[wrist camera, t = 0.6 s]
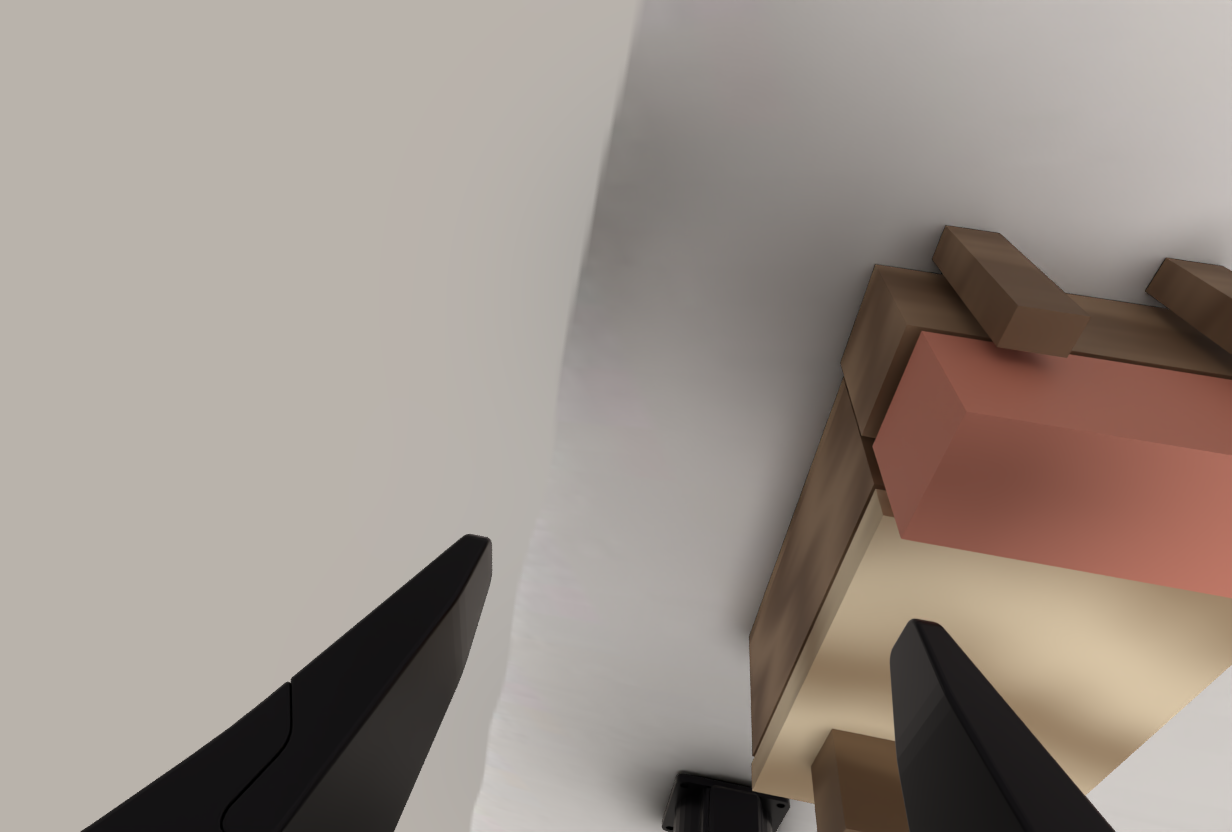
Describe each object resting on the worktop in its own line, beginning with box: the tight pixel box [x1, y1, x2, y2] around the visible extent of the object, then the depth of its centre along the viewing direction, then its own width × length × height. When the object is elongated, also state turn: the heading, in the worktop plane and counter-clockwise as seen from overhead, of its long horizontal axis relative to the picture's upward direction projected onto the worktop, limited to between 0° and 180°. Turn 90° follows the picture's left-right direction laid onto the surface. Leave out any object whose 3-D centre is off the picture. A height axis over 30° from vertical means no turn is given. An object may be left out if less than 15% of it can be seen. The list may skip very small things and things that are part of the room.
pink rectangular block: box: [872, 331, 1232, 598], centre depth 14 cm, size 4×9×4 cm, turn 84°
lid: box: [751, 489, 1232, 832], centre depth 18 cm, size 14×10×4 cm
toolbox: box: [749, 225, 1232, 757], centre depth 21 cm, size 19×21×6 cm
